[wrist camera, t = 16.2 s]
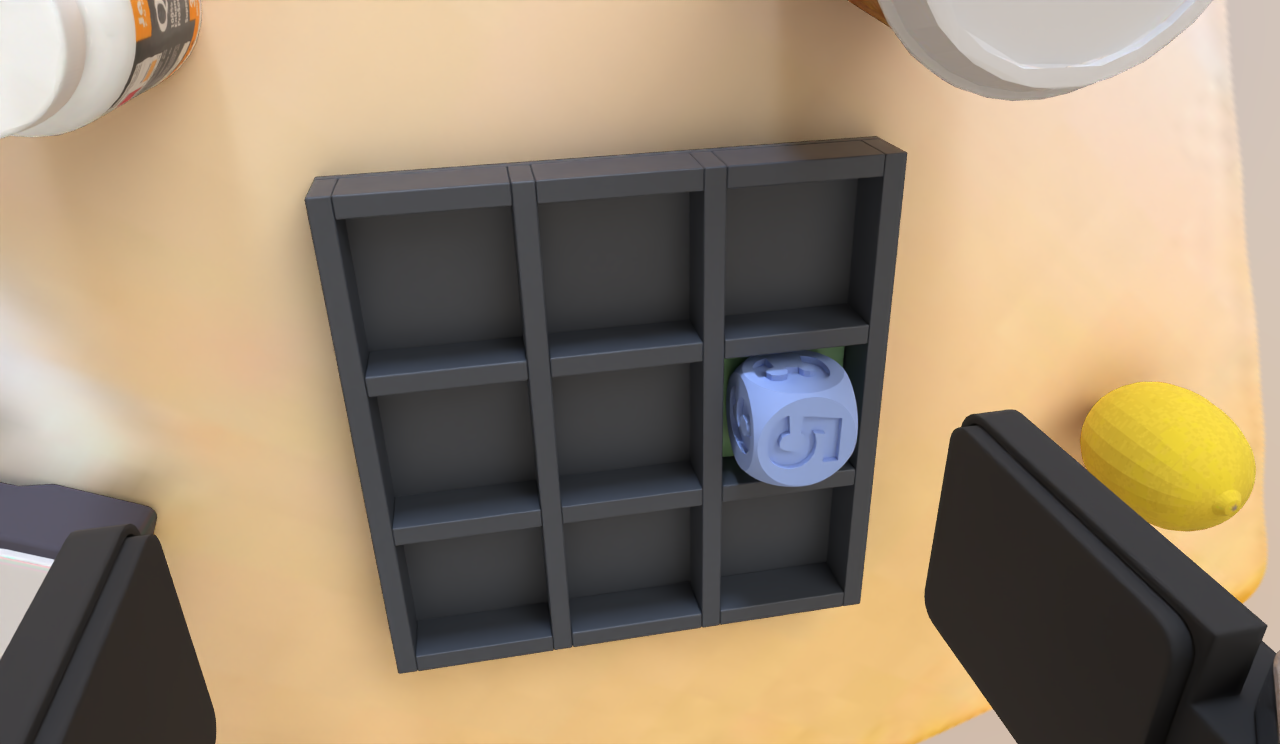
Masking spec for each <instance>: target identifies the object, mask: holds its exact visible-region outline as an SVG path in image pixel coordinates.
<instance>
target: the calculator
mask: <svg viewBox="0 0 1280 744" xmlns="http://www.w3.org/2000/svg"><path fill="white" fill-rule="evenodd" d="M156 520H157V515H156V512H155V511H154V510H153V509H152V508H150V507H148V506H144V505H140V504H136V503H132V502H128V501H123V500H119V499H115V498H111V497H106V496H102V495H98V494H94V493H89V492H85V491H81V490H77V489H72V488H68V487H64V486H60V485H55V484H45V485H29V486H16V485H11V484H6V483H2V482H0V659H1V657H2V655H3V654H4V652H5V650H6V648H7V646H8V644H9V643H10V641H11V639H12V637H13V635H14V633H15V632H16V630H17V628H18V626H19V624H20V622H21V621H22V619H23V617H24V615H25V613H26V611H27V610H28V608H29V606H30V604H31V602H32V600H33V599H34V597H35V595H36V593H37V591H38V589H39V588H40V586H41V584H42V582H43V580H44V578H45V577H46V575H47V573H48V571H49V569H50V567H51V565H52V564H53V562H54V560H55V558H56V556H57V554H58V553H59V551H60V549H61V547H62V545H63V543H64V542H65V540H66V538H67V537H68V536H69V534H70V533H71V532H74V531H76V530H84V529H91V528H99V527H107V526H114V525H122V524H133V525H135V526H136V527H137V529H138V530H139V531H140V534H141V536H142V535H149V534H153V533H154V529H155V525H156Z"/></svg>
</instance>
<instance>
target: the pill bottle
mask: <svg viewBox="0 0 1280 744" xmlns="http://www.w3.org/2000/svg"><path fill="white" fill-rule="evenodd" d="M201 18H202V6H201V0H0V139H1V138H5V137H8V136H21V137H44V136H55V135H60V134H64V133H67V132H70V131H74V130H76V129H79V128H81V127H83V126H85V125H87V124H89V123H91V122H93V121H95V120H96V119H98V118H100V117H102V116H104V115H105V114H107V113H109V112H110V111H112V110H114V109H116V108H117V107H119V106H121V105H123V104H125V103H126V102H128V101H129V100H131V99H132V98H134V97H136V96H138V95H139V94H141V93H143V92H145V91H147V90H149V89H151V88H153V87H155V86H156V85H158V84H159V83H161V82H162V81H164V80H165V79H167V78H168V77H170V76H171V75H172V74H173V73H174V72H175V71H176V70H177V69H179V68H180V67H181V66H182V64H183V63H184V62H185V60H186V59H187V58H188V56H189V55H190V53H191V52H192V50H193V48H194V45H195V43H196V41H197V37H198V34H199V31H200V26H201Z"/></svg>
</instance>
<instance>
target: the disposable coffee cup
mask: <svg viewBox="0 0 1280 744" xmlns="http://www.w3.org/2000/svg"><path fill="white" fill-rule="evenodd" d="M848 1H849V2H851V3H853V4H854V5H856V6H857V7H859V8H860V9H862V10H863V11H865V12H866V13H868V14H870V15H871V16H873V17H874V18H876V19H878V20H879V21H881V22H883V23H884V24H886V25H887V26H889V27H890V28H892V30H893V31H894V33H895V34H896V35H897V37H898V38H899V39H900V41H901V42H902V44H903V45H904V46H905V48H906V49H907V50H908V52H909V53H910V54H911V55H912V56H913V57H914V58H915V59H917V60H918V61H919V62H920V63H921V64H923V65H924V66H925V67H926V68H927V69H929V70H930V71H931V72H933V73H934V74H936V75H937V76H938V77H940V78H941V79H942V80H944V81H946V82H947V83H949V84H951V85H953V86H955V87H957V88H960V89H963V90H966V91H969V92H972V93H975V94H978V95H981V96H984V97H987V98H994V99H1002V100H1010V101H1018V100H1037V99H1045V98H1050V97H1054V96H1058V95H1063V94H1067V93H1070V92H1073V91H1075V90H1078V89H1081V88H1083V87H1086V86H1088V85H1091V84H1094V83H1096V82H1098V81H1102V80H1105V79H1108V78H1112V77H1114V76H1116V75H1118V74H1120V73H1122V72H1124V71H1126V70H1128V69H1130V68H1132V67H1134V66H1136V65H1138V64H1141V63H1143V62H1144V61H1146V60H1147V59H1148V58H1150V57H1151V56H1152V55H1154V54H1155V53H1157V52H1158V51H1159V50H1161V49H1162V48H1163V47H1165V46H1166V45H1167V44H1169V43H1170V42H1171V41H1172V40H1173V39H1175V38H1176V37H1177V36H1178V35H1179V34H1180V33H1182V32H1183V31H1184V30H1185V29H1186V28H1188V27H1189V26H1190V25H1191V24H1192V23H1194V22H1195V20H1196V19H1197V18H1198V17H1199V16H1200V15H1201V13H1202V12H1203V11H1204V10H1205V9H1206V8H1207V7H1208V5H1209V4H1210V3H1211V2H1212V1H1213V0H848Z"/></svg>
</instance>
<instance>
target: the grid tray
mask: <svg viewBox="0 0 1280 744" xmlns="http://www.w3.org/2000/svg"><path fill="white" fill-rule="evenodd" d="M906 160H907V152H905V151H903V150H901V149H899V148H897V147H895V146H894V145H892V144H890V143H888V142H886V141H884V140H882V139H881V138H879V137H877V136H875V137H861V138H847V139H833V140H819V141H805V142H792V143H778V144H764V145H750V146H736V147H722V148H709V149H695V150H681V151H667V152H653V153H639V154H626V155H612V156H598V157H584V158H570V159H556V160H543V161H529V162H515V163H501V164H487V165H473V166H460V167H446V168H432V169H418V170H404V171H390V172H376V173H363V174H349V175H335V176H321V177H315V178H314V181H313V183H312V185H311V187H310V189H309V191H308V193H307V195H306V197H305V204H306V209H307V214H308V219H309V224H310V229H311V234H312V239H313V244H314V250H315V255H316V260H317V265H318V270H319V275H320V280H321V285H322V290H323V295H324V300H325V305H326V310H327V315H328V320H329V325H330V330H331V336H332V341H333V346H334V351H335V356H336V361H337V366H338V371H339V376H340V381H341V386H342V391H343V396H344V401H345V406H346V411H347V416H348V422H349V427H350V432H351V437H352V442H353V447H354V452H355V457H356V462H357V467H358V472H359V477H360V482H361V487H362V492H363V497H364V502H365V507H366V513H367V518H368V523H369V528H370V533H371V538H372V543H373V548H374V553H375V558H376V563H377V568H378V573H379V578H380V583H381V588H382V593H383V599H384V604H385V609H386V614H387V619H388V624H389V629H390V634H391V639H392V644H393V649H394V654H395V659H396V664H397V669H398V673H399V674H401V673H408V672H414V671H417V670H418V671H422V670H429V669H435V668H442V667H448V666H455V665H461V664H468V663H474V662H481V661H487V660H494V659H501V658H507V657H514V656H520V655H527V654H533V653H540V652H546V651H553V650H554V649H555V650H558V649H564V648H571V647H572V645H573V647H578V646H584V645H591V644H597V643H604V642H610V641H617V640H623V639H630V638H636V637H643V636H649V635H656V634H663V633H669V632H676V631H682V630H689V629H695V628H701V627H709V626H716V625H719V624H721V625H722V624H729V623H735V622H742V621H748V620H755V619H761V618H768V617H774V616H781V615H787V614H794V613H800V612H807V611H814V610H820V609H827V608H833V607H840V606H847V605H854V604H859V603H860V598H861V589H862V579H863V570H864V560H865V551H866V541H867V532H868V522H869V513H870V503H871V494H872V484H873V475H874V465H875V456H876V446H877V437H878V427H879V418H880V408H881V398H882V389H883V379H884V370H885V360H886V351H887V341H888V332H889V322H890V313H891V303H892V294H893V284H894V275H895V265H896V256H897V246H898V237H899V227H900V218H901V208H902V199H903V189H904V180H905V170H906ZM803 350H809V351H813V352H817V353H820V354H823V355H825V356H828V357H830V358H831V359H833V360H835V361H836V362H837V363H838V364H840V365H841V366H842V367H843V369H844V370H845V371H846V373H847V375H848V377H849V379H850V382H851V384H852V387H853V391H854V395H855V399H856V405H857V414H858V434H857V441H856V445H855V448H854V451H853V453H852V455H851V456H850V458H849V459H848V460H847V462H846V463H845V464H844V465H843V466H842V467H841V468H840V469H839V470H838V471H837V472H835V473H834V474H833V475H831V476H830V477H828V478H826V479H824V480H822V481H820V482H818V483H815V484H812V485H807V486H800V487H784V486H777V485H772V484H768V483H765V482H762V481H759V480H757V479H755V478H753V477H752V476H750V475H749V474H747V473H746V472H745V471H744V470H742V469H741V468H740V466H739V465H738V463H737V461H736V459H735V456H734V454H733V450H732V447H731V443H730V438H729V432H728V425H727V415H726V393H727V385H728V381H729V378H730V376H731V374H732V373H733V372H734V370H735V369H736V368H737V367H738V366H739V365H740V364H741V363H742V362H744V361H745V360H746V359H747V358H749V357H750V356H757V355H766V354H775V353H784V352H794V351H803Z"/></svg>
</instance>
